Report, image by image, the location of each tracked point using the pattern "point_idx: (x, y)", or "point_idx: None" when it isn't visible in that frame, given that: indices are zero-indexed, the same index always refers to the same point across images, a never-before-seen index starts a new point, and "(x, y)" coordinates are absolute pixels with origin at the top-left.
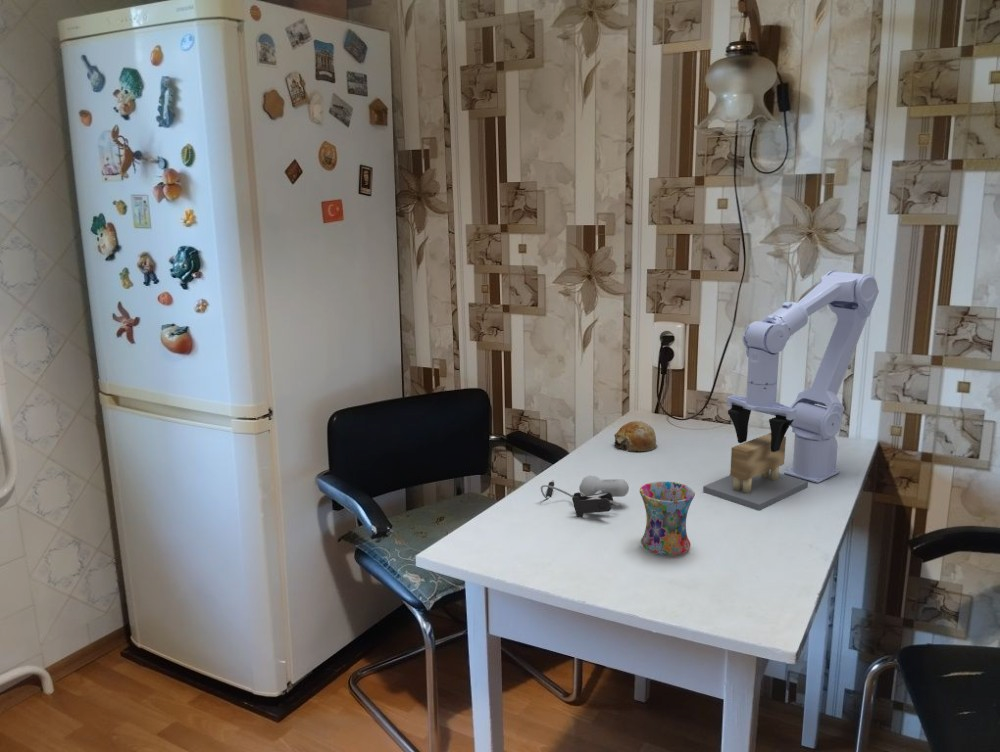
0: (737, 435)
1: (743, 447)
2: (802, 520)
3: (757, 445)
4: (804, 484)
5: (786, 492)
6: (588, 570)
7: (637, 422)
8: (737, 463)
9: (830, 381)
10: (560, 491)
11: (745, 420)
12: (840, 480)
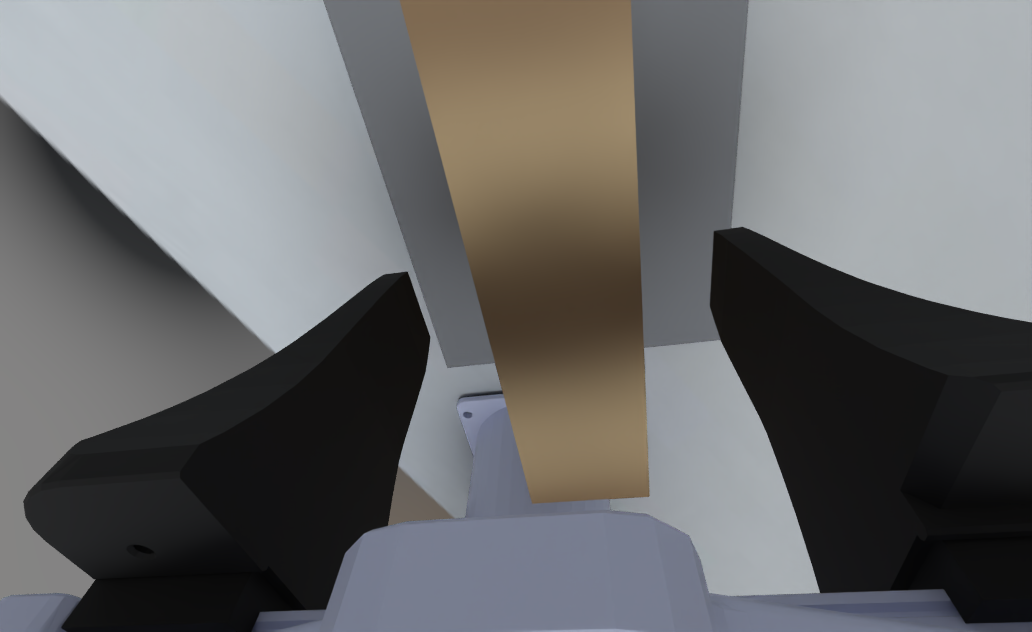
0: (773, 247)
1: (536, 63)
2: (118, 25)
3: (504, 239)
4: (440, 341)
5: (394, 209)
6: None
7: None
8: None
9: None
10: None
11: (797, 442)
12: (444, 461)
